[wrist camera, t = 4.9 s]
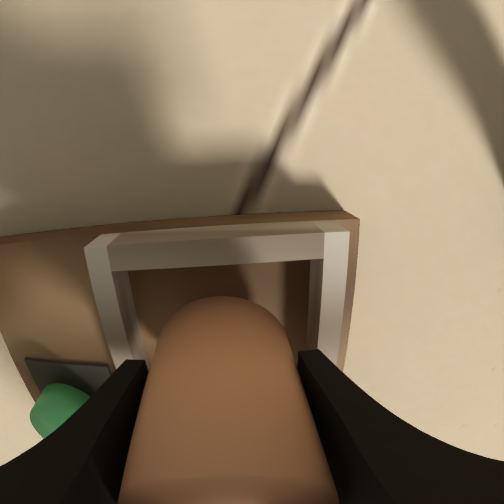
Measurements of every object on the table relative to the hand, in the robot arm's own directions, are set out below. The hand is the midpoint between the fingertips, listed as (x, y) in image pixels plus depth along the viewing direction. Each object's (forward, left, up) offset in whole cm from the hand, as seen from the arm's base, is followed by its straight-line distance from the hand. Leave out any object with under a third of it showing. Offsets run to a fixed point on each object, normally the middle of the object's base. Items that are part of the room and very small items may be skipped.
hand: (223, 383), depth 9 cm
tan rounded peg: (0, 0, -2) cm, 2 cm away
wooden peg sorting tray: (-4, +3, -4) cm, 7 cm away
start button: (-4, +8, -2) cm, 9 cm away
